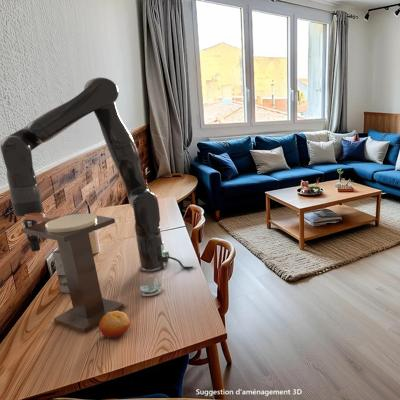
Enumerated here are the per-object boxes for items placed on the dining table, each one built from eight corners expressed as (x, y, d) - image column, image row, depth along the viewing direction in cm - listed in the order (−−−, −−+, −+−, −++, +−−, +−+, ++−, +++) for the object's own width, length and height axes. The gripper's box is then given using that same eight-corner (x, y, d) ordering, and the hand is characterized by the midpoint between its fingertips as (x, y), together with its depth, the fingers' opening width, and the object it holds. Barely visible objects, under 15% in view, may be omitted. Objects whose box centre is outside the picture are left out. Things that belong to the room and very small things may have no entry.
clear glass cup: (162, 295, 124) (162, 286, 129) (159, 279, 122) (160, 271, 127) (140, 299, 121) (141, 290, 127) (137, 283, 119) (138, 275, 125)
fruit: (101, 322, 106) (111, 302, 105) (126, 332, 108) (136, 312, 106) (88, 340, 99) (99, 318, 97) (115, 350, 100) (126, 329, 99)
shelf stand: (47, 322, 109) (22, 228, 100) (93, 296, 123) (75, 211, 114) (86, 336, 102) (63, 237, 93) (130, 307, 116) (114, 218, 107)
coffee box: (75, 294, 125) (66, 253, 120) (60, 292, 126) (50, 252, 121) (94, 281, 133) (86, 243, 129) (80, 279, 135) (72, 241, 130)
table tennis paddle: (6, 225, 103) (5, 220, 102) (49, 211, 114) (48, 207, 114) (68, 234, 95) (66, 229, 94) (107, 219, 106) (106, 214, 106)
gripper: (40, 201, 107) (50, 250, 110) (41, 194, 118) (50, 238, 122) (9, 205, 102) (20, 256, 106) (13, 197, 114) (23, 243, 118)
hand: (36, 247), depth 114 cm, fingers open, 8 cm apart
